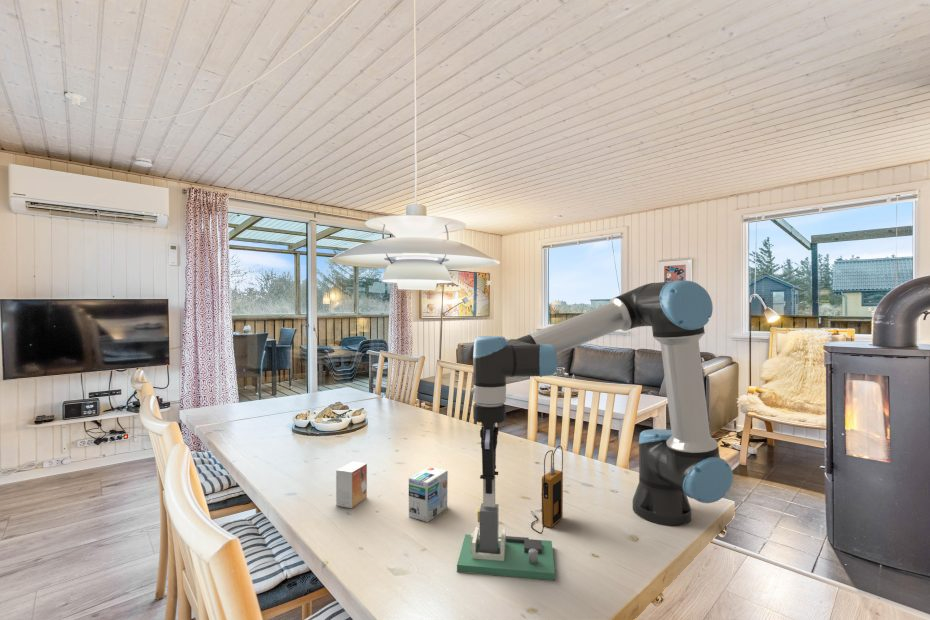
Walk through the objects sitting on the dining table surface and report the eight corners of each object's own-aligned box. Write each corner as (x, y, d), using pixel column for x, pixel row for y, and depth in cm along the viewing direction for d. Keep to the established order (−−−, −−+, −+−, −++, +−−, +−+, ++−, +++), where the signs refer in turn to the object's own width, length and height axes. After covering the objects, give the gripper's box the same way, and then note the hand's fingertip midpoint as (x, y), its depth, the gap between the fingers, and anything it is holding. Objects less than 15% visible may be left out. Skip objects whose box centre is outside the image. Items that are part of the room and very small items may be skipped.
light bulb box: (427, 523, 117) (427, 482, 117) (407, 517, 120) (407, 478, 120) (448, 507, 126) (448, 470, 126) (429, 502, 130) (429, 465, 130)
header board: (551, 547, 105) (551, 526, 105) (554, 580, 92) (554, 556, 92) (465, 540, 108) (465, 520, 108) (456, 571, 95) (456, 548, 95)
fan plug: (498, 546, 102) (498, 504, 102) (497, 556, 98) (497, 512, 98) (478, 545, 103) (479, 503, 103) (477, 554, 99) (477, 510, 99)
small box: (351, 509, 125) (351, 472, 125) (335, 506, 127) (335, 469, 127) (367, 497, 132) (367, 463, 132) (351, 495, 134) (351, 460, 134)
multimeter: (537, 503, 128) (537, 436, 128) (568, 513, 122) (568, 442, 122) (510, 523, 117) (510, 448, 117) (544, 535, 111) (544, 456, 111)
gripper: (476, 396, 108) (476, 492, 108) (469, 409, 95) (469, 517, 95) (507, 397, 107) (506, 494, 107) (504, 410, 94) (504, 519, 94)
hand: (489, 505), depth 101 cm, fingers closed
